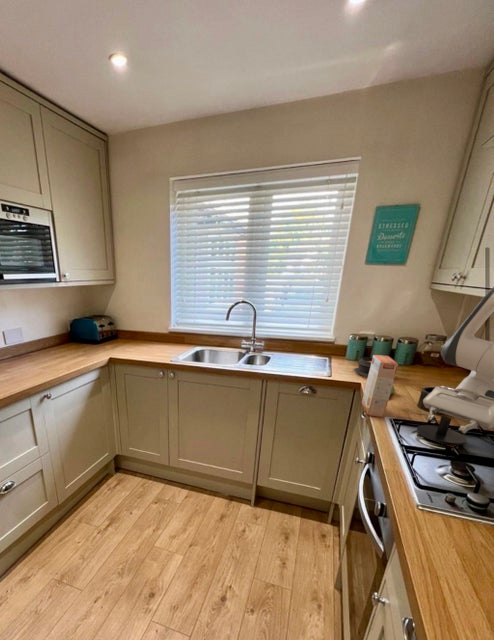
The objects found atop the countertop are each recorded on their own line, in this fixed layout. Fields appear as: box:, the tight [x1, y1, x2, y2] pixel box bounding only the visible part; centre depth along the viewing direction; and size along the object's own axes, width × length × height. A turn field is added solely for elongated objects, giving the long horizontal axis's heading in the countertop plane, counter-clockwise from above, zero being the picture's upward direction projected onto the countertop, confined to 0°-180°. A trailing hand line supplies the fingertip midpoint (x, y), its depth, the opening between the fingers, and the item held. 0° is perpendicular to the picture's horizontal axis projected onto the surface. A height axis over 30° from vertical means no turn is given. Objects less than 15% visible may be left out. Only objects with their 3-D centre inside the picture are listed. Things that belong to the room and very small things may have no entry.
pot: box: [416, 386, 450, 419], centre depth 128 cm, size 12×18×8 cm
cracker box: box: [361, 354, 399, 418], centre depth 126 cm, size 14×6×21 cm, turn 161°
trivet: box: [416, 433, 457, 448], centre depth 107 cm, size 10×10×1 cm
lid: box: [416, 416, 468, 446], centre depth 106 cm, size 13×13×7 cm
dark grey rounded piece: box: [354, 356, 373, 378], centre depth 177 cm, size 25×19×8 cm
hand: (444, 425), depth 106 cm, fingers open, 8 cm apart
